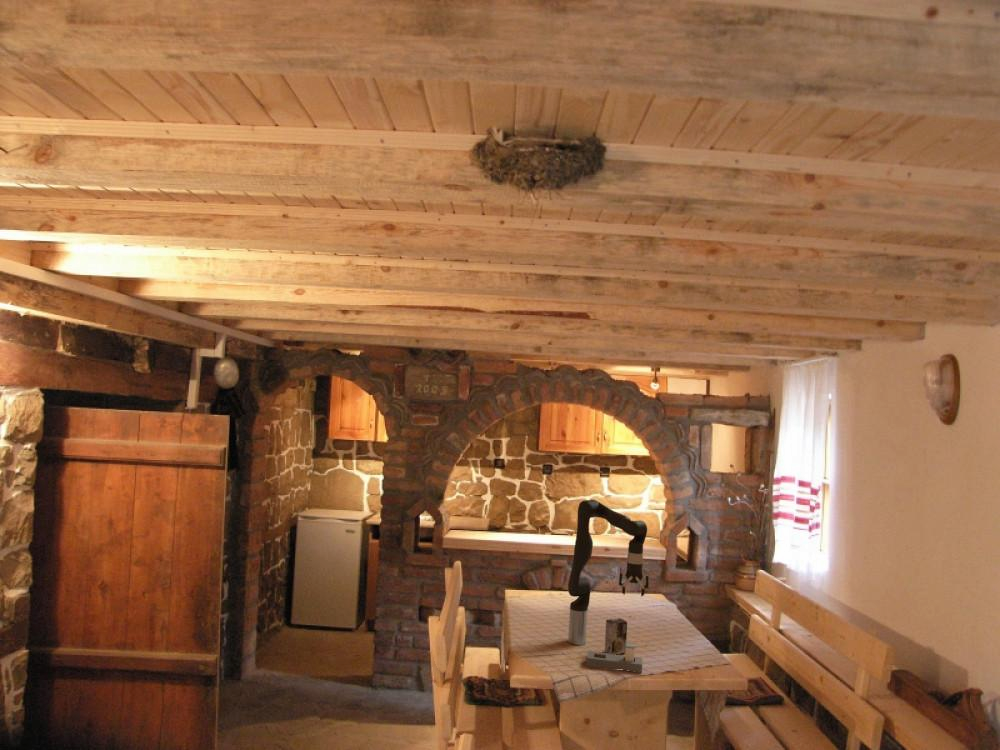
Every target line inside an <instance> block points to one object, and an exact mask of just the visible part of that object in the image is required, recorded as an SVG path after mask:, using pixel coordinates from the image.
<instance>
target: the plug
mask: <svg viewBox="0 0 1000 750" xmlns="http://www.w3.org/2000/svg"><path fill="white" fill-rule="evenodd" d="M635 646H636V645H635V644H633V643H632V644H631V643H626V653H624V654H625V655H624V656H625V661H629V662H634V657H635V648H636V647H635Z"/></svg>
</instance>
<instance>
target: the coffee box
mask: <svg viewBox="0 0 1000 750" xmlns="http://www.w3.org/2000/svg"><path fill="white" fill-rule="evenodd" d="M627 631H628V621H626V620H625V619H623V618H620V617H619V618H610V619H606V620H605V636H604V638H605V639H604V653H607V654H617V655H622V654H621V653H624V654H625V653H626V644H627V634H628V632H627Z"/></svg>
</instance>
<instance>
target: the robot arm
mask: <svg viewBox="0 0 1000 750" xmlns="http://www.w3.org/2000/svg"><path fill="white" fill-rule="evenodd" d="M592 518H593V519H594V518H601V519H604V520H605V521H607V522H608V523H609V524H610V525H611V526H612V527H614V528H618V529H619V530H622V531H623V532H624V533H626V534H627V535H630V536H633V538H632V539H631V540H629V542H628V547H627V548H628V549H627V550H628V551H627V557H626V572H622V571H620V572H619V579H618V585H619V586H620V587H622V589H621V590H622V591H621V594H623V596H624V595H626V586H627V585H628V584H629V583H631V584H639V586H640V587H641V589H640V590H641V592H640V597H641V598H642V597H643V596H645V589H648V588H649V575H648V574H645V575H644V574H643V565H644V555H643V553H644V543H645V541H646V537H647V534H648V526H647V525H648V524H646V522H645V521H644V520H640V519H639V520H631V518H630V517H629V516H627V515H625V514H622V513H619V512H617V511H615V510H613V509H610V508H609V507H608V506H605V504H603V503H601V502H599V501H598V500H596V499H588V500H587V499H586V500H581V501H580V503H579V505H578V508H577V523H576V525H577V526H576V527H577V528H576V535H575V543H574V549H573V559H572V564H571V565H572V566H571V570H570V575H569V579H568V585H567V590H568V595H569V596H571V597H577V598H576V599H575V600H573V601H571V602H570V604H569V620H568V635H567V643H569V644H572V645H577V646H581V645H585V644H586V641H587V627H588V612H589V611H588V610H589V605H590V599H591V598H590V597H591V591H592V590H591V588H592V586H591V582H590V580H589V579H588V578H586V577H581V574H582V571H583V570H584V568H585V566H587V564H588V563H589V561H590V559H591V556H592V553H593V547H594V541H593V539H592V535H591V532H590V519H592ZM624 577H626V579H625V581H624V582H622V581H623V578H624ZM643 579H644V580H645V584H643V582H642V580H643Z"/></svg>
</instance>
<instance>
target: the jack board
mask: <svg viewBox="0 0 1000 750" xmlns="http://www.w3.org/2000/svg"><path fill="white" fill-rule="evenodd" d="M586 654H587V656H586V666H585V667H588V668H597V669H604V668H606V670H612V669H623V670H629V671H635V672H634V673H636V672H640V673H639V674H642V673H643V657H638V656H634V662H629V661H625V655H624V654H623V655H622V654H617V655H615V654H608V653H607V652H596V651H589V650H588V651H587V653H586Z"/></svg>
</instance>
